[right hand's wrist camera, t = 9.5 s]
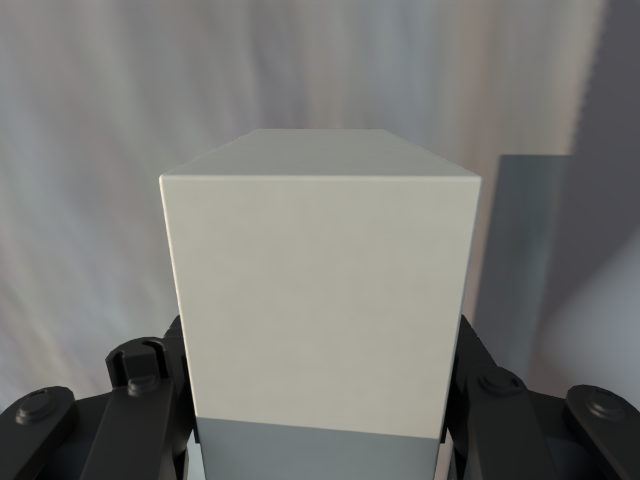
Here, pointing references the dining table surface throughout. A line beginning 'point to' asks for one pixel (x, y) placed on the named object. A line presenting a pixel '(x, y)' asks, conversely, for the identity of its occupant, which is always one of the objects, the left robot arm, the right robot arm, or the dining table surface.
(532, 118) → the dining table surface
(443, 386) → the post
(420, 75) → the dining table surface
